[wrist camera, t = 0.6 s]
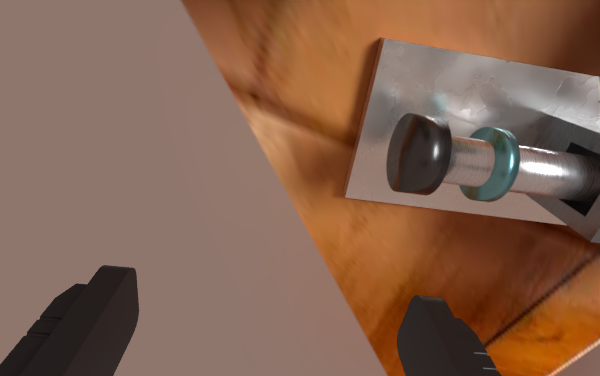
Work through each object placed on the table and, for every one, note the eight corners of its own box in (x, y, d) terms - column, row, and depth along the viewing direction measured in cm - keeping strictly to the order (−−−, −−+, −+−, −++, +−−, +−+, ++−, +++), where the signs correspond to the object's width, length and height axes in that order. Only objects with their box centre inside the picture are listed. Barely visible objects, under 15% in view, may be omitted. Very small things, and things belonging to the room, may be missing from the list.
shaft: (634, 141, 26) (712, 169, 21) (597, 201, 28) (659, 238, 23) (400, 104, 24) (429, 126, 19) (380, 172, 26) (401, 206, 21)
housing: (678, 90, 28) (855, 123, 19) (592, 223, 34) (699, 294, 25) (380, 37, 25) (430, 48, 16) (343, 191, 31) (365, 259, 22)
